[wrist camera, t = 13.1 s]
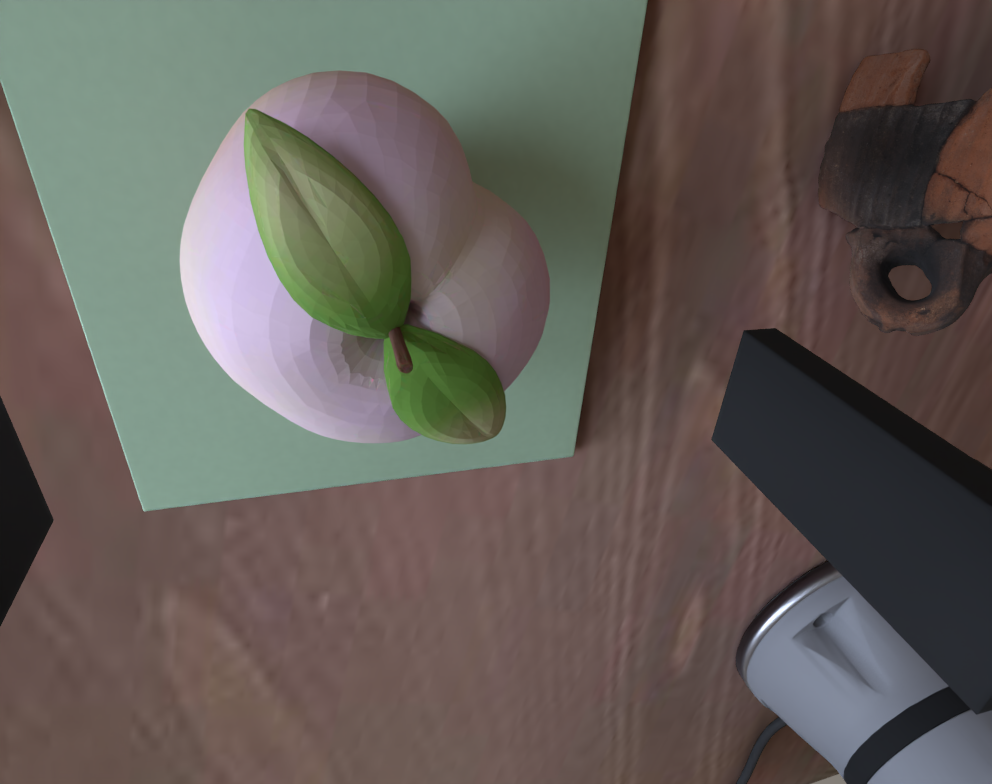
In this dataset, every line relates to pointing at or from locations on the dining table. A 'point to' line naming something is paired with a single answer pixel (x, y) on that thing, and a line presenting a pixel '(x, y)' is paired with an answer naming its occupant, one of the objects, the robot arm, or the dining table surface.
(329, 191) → the decorative fruit
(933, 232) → the pottery mug
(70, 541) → the dining table surface
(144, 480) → the placemat
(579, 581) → the dining table surface
